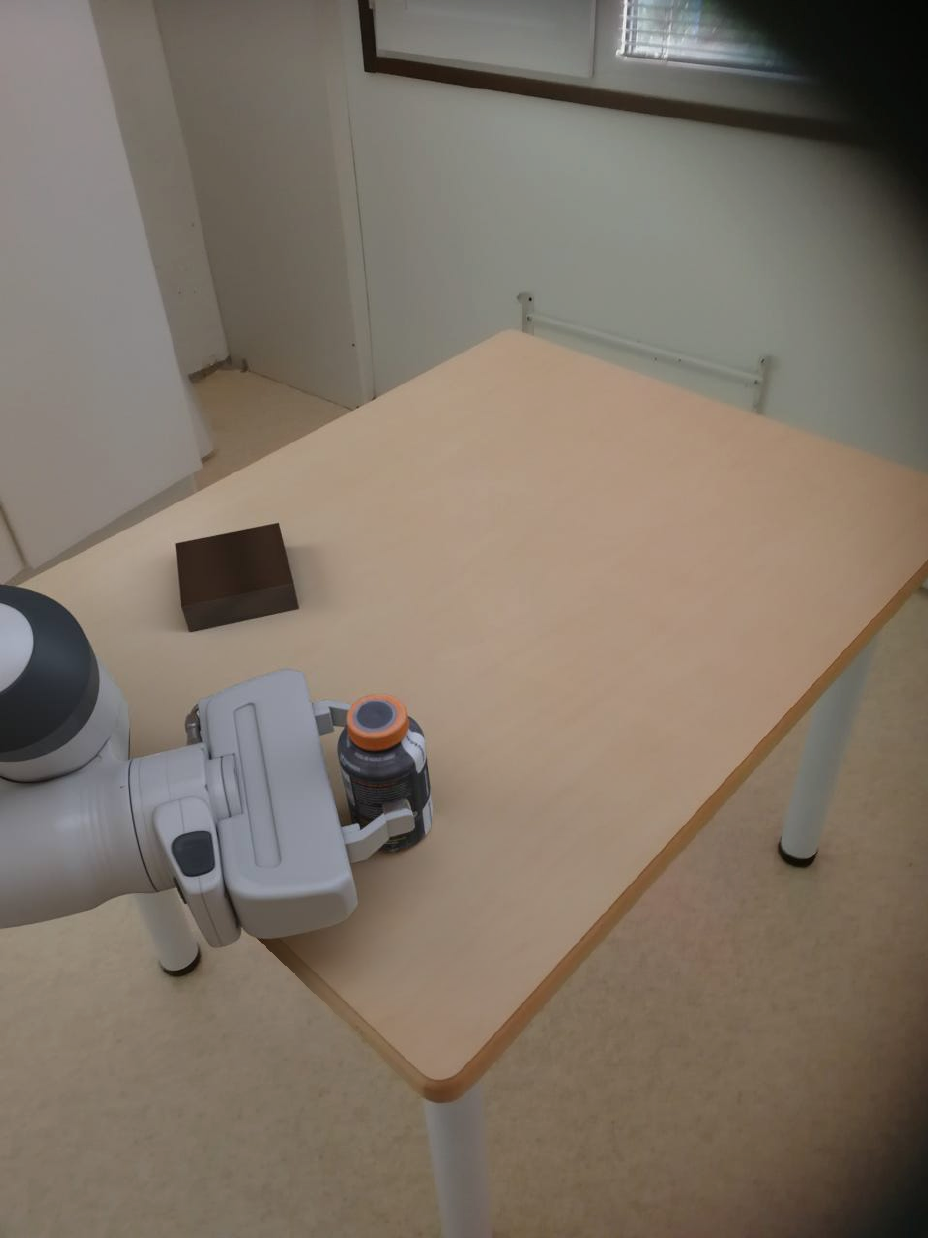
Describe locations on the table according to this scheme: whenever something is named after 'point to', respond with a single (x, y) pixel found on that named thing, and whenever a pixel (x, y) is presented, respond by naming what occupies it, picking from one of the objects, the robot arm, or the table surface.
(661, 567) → the table surface
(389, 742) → the pill bottle
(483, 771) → the table surface
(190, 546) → the walnut stand
